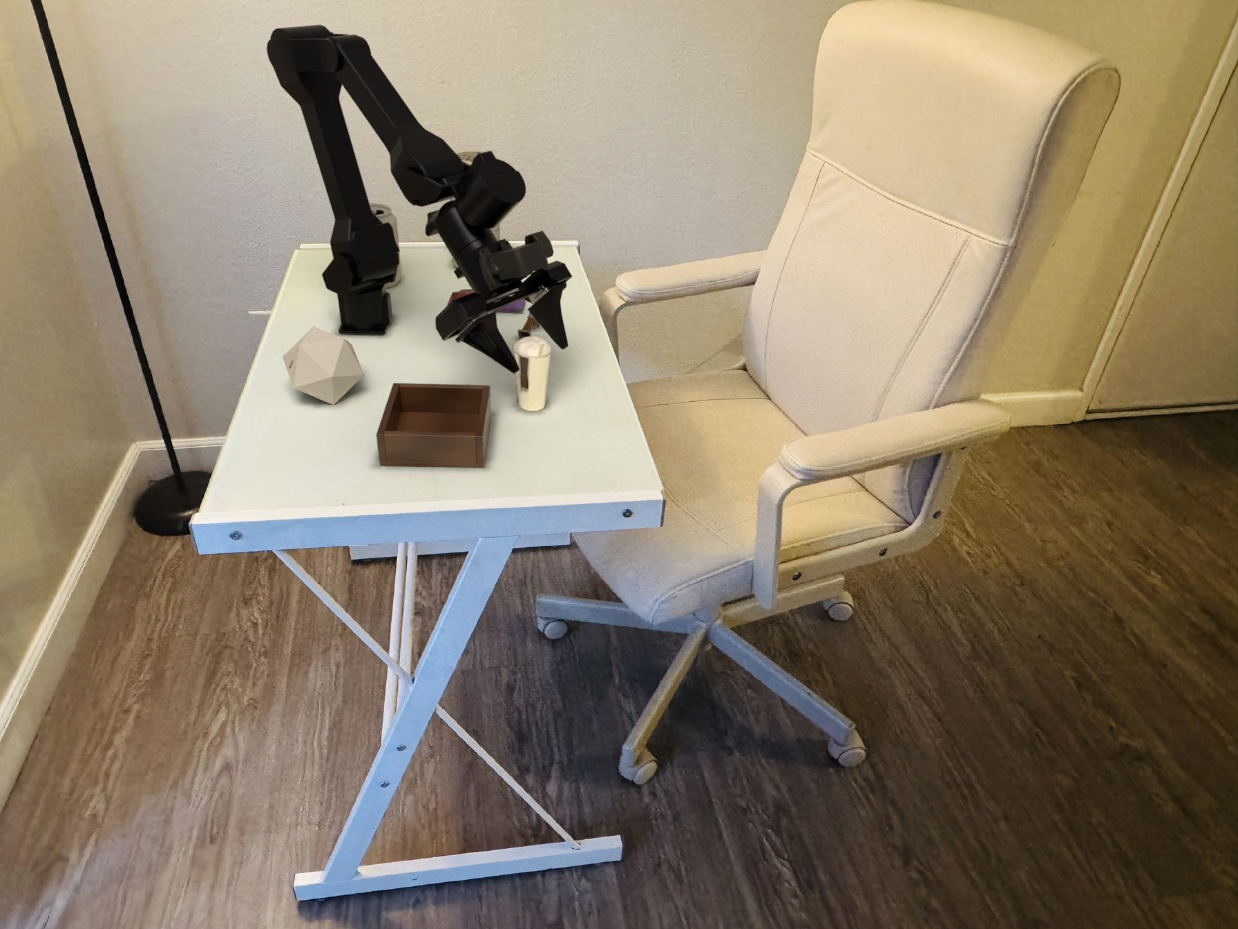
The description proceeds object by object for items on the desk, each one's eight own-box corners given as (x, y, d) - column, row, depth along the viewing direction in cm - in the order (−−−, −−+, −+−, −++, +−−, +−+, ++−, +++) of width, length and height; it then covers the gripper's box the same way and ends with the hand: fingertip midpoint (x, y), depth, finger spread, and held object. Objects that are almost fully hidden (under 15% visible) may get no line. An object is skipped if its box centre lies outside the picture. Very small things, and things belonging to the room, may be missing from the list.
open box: (379, 465, 97) (376, 434, 95) (396, 412, 107) (393, 382, 104) (483, 467, 98) (482, 436, 96) (491, 414, 107) (490, 385, 105)
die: (307, 377, 114) (259, 339, 105) (365, 343, 113) (321, 301, 104) (325, 426, 110) (276, 391, 101) (385, 391, 109) (341, 352, 100)
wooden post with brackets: (549, 312, 131) (546, 291, 127) (533, 352, 127) (529, 331, 123) (538, 310, 131) (534, 289, 128) (521, 350, 127) (517, 329, 123)
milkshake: (525, 420, 107) (524, 347, 101) (508, 400, 111) (507, 328, 105) (558, 413, 109) (560, 341, 103) (541, 393, 112) (542, 323, 107)
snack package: (526, 290, 135) (522, 303, 131) (526, 302, 136) (523, 315, 132) (452, 285, 135) (446, 299, 130) (452, 297, 136) (447, 311, 132)
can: (396, 292, 136) (389, 217, 129) (348, 290, 136) (339, 214, 129) (406, 274, 142) (400, 202, 135) (360, 271, 142) (352, 199, 135)
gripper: (446, 231, 92) (522, 358, 93) (562, 195, 104) (628, 307, 105) (403, 280, 100) (473, 396, 101) (516, 242, 113) (577, 345, 113)
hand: (541, 359), depth 105 cm, fingers open, 8 cm apart
